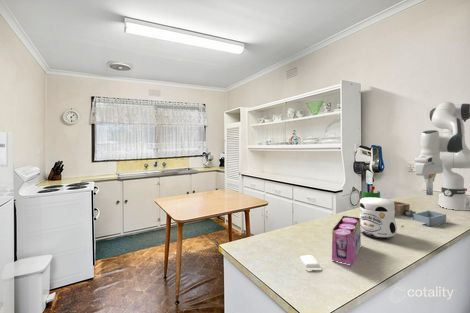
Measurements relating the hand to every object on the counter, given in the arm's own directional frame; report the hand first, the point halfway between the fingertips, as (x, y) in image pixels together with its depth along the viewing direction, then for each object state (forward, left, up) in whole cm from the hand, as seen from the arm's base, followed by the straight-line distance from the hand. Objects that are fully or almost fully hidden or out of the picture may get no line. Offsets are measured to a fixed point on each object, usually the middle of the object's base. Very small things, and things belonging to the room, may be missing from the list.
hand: (429, 181), depth 135 cm
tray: (0, 0, -24) cm, 24 cm away
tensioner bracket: (+1, -15, -24) cm, 28 cm away
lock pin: (0, 0, -8) cm, 8 cm away
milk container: (+42, -2, -24) cm, 49 cm away
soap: (+94, +8, -25) cm, 98 cm away
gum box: (+72, +7, -24) cm, 77 cm away
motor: (+16, -25, -24) cm, 38 cm away
